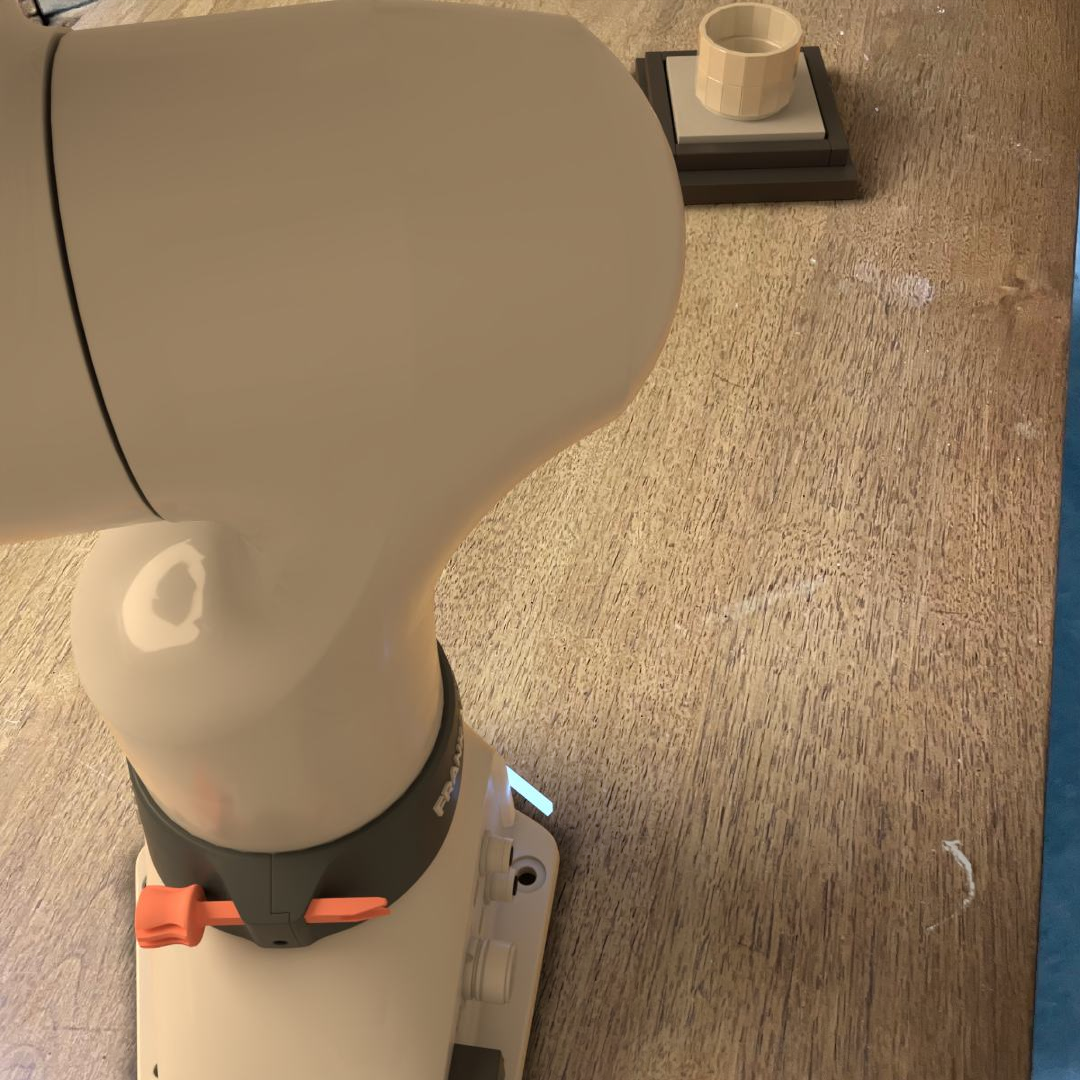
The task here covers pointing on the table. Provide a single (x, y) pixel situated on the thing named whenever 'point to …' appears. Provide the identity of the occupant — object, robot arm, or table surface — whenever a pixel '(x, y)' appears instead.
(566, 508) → the table surface
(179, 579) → the robot arm
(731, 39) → the bowl
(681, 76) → the platform
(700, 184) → the scale
